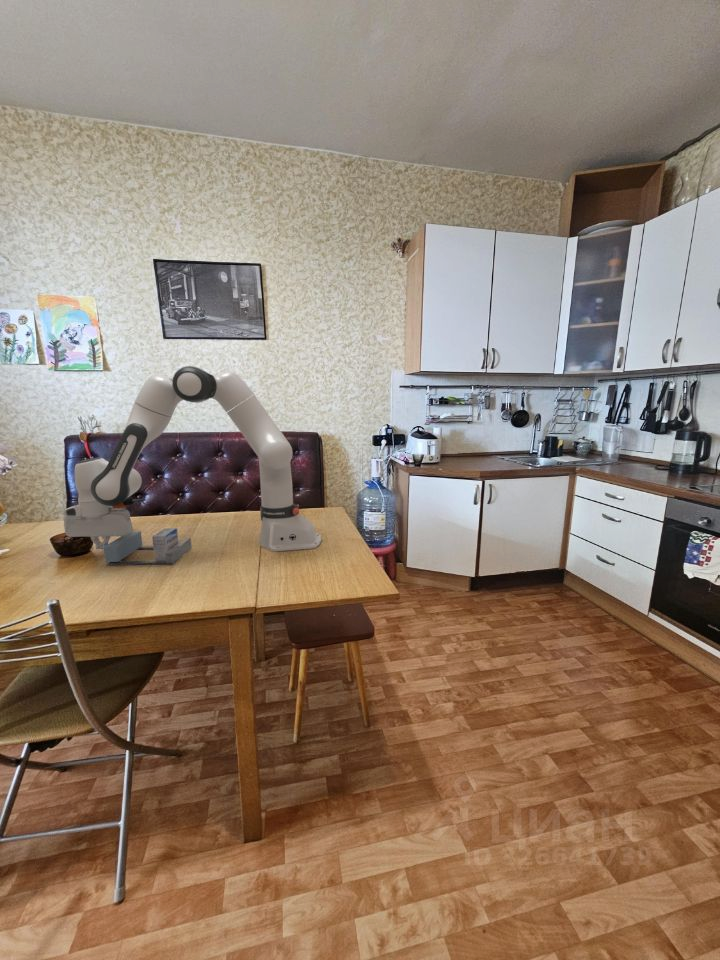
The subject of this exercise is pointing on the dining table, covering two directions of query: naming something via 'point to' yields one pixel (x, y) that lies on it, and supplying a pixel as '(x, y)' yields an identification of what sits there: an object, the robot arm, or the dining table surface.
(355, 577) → the dining table surface
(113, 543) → the vise jaw
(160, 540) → the medicine box
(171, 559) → the vise
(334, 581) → the dining table surface
